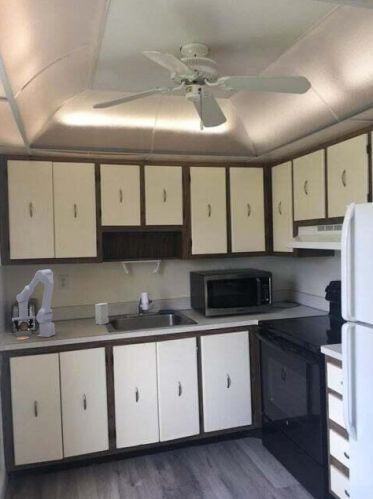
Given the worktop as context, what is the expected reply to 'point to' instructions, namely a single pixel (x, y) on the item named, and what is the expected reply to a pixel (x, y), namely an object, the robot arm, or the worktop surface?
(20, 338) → the coaster
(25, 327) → the walnut cylinder
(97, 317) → the skincare box
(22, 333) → the low wall
